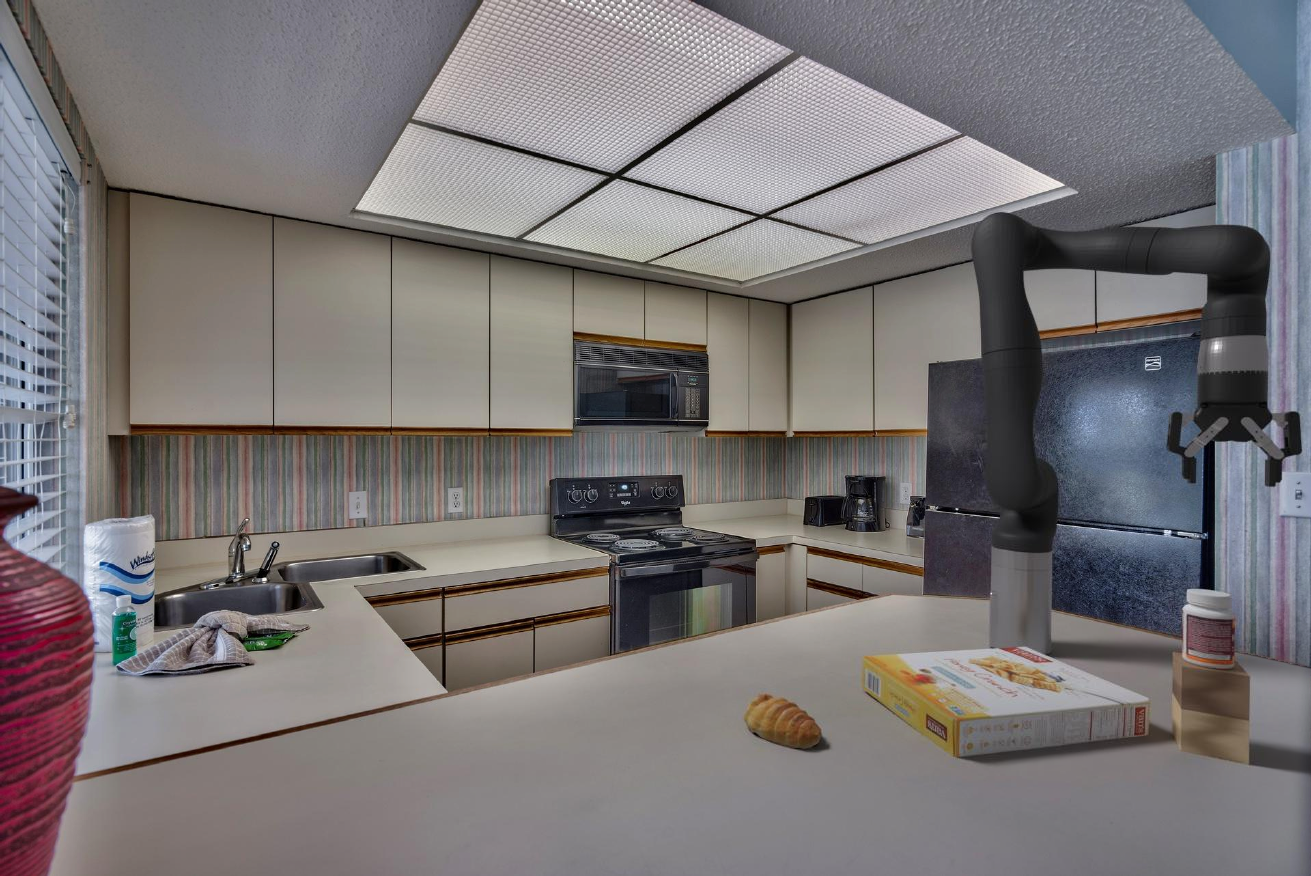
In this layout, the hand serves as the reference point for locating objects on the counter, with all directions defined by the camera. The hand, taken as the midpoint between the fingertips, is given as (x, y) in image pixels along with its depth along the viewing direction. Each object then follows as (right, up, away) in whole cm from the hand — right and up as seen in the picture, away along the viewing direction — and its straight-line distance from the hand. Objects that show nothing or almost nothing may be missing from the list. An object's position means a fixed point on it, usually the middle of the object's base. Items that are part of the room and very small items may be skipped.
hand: (1230, 484), depth 93 cm
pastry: (-66, -30, -13) cm, 74 cm away
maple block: (-16, -30, -16) cm, 38 cm away
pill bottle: (-16, -20, -16) cm, 30 cm away
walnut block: (-16, -25, -16) cm, 34 cm away
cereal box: (-37, -30, -6) cm, 48 cm away
